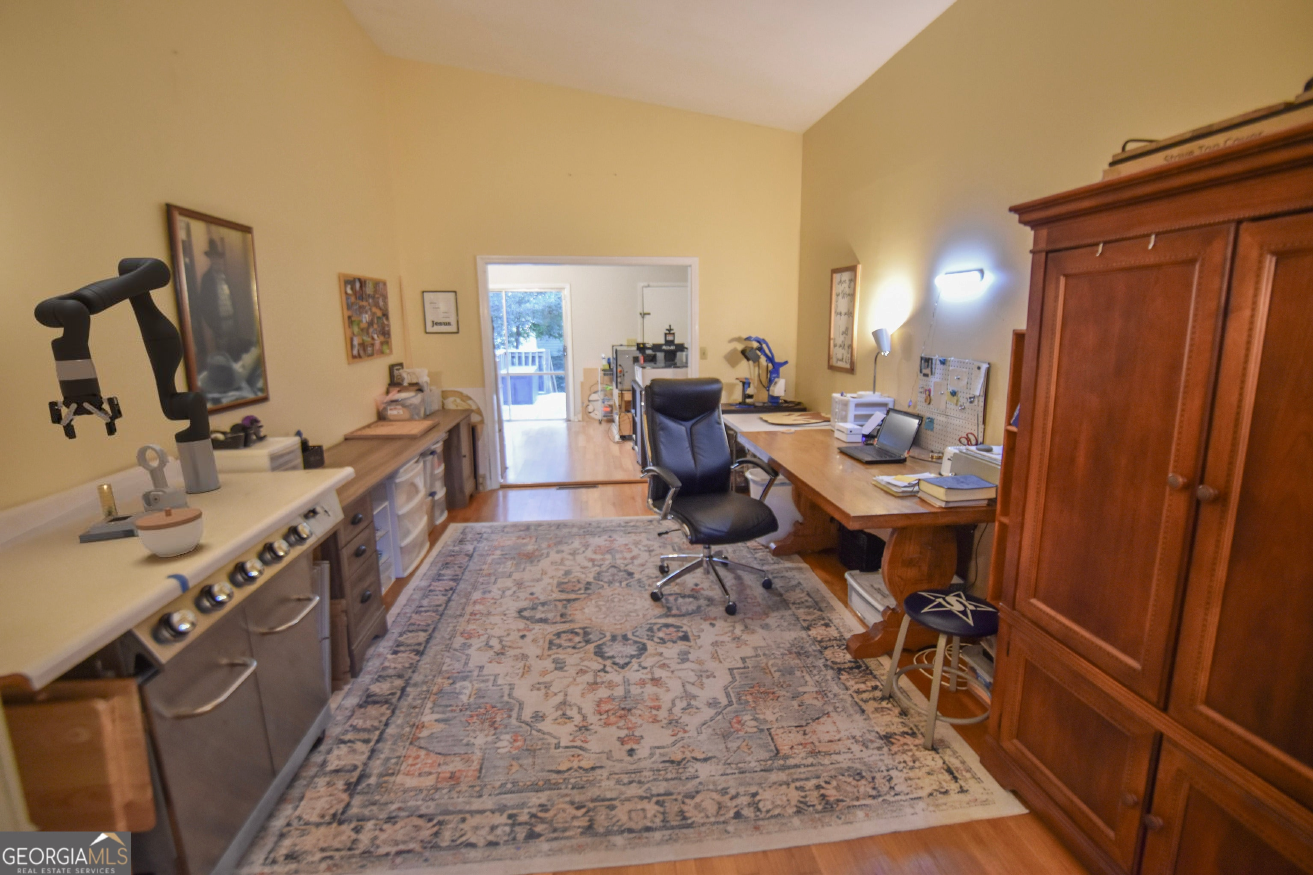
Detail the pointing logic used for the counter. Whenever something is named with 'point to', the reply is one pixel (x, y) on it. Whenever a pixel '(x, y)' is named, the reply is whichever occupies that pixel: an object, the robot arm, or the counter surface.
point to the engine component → (159, 483)
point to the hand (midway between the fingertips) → (92, 437)
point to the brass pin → (107, 500)
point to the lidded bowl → (171, 531)
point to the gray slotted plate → (115, 527)
